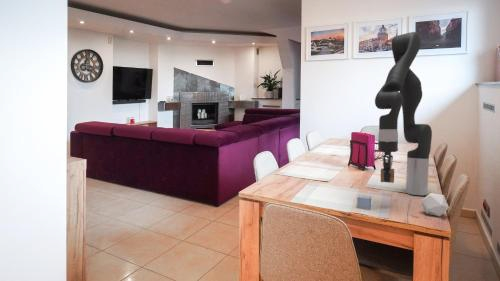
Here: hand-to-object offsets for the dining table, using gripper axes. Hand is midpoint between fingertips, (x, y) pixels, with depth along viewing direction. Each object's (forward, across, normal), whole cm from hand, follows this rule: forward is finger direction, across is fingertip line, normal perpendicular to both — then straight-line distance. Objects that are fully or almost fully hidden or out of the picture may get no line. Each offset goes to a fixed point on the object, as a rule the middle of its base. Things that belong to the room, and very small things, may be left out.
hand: (387, 180), depth 135 cm
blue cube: (+12, +4, -9) cm, 15 cm away
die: (+7, +1, +12) cm, 14 cm away
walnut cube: (+1, 0, 0) cm, 1 cm away
